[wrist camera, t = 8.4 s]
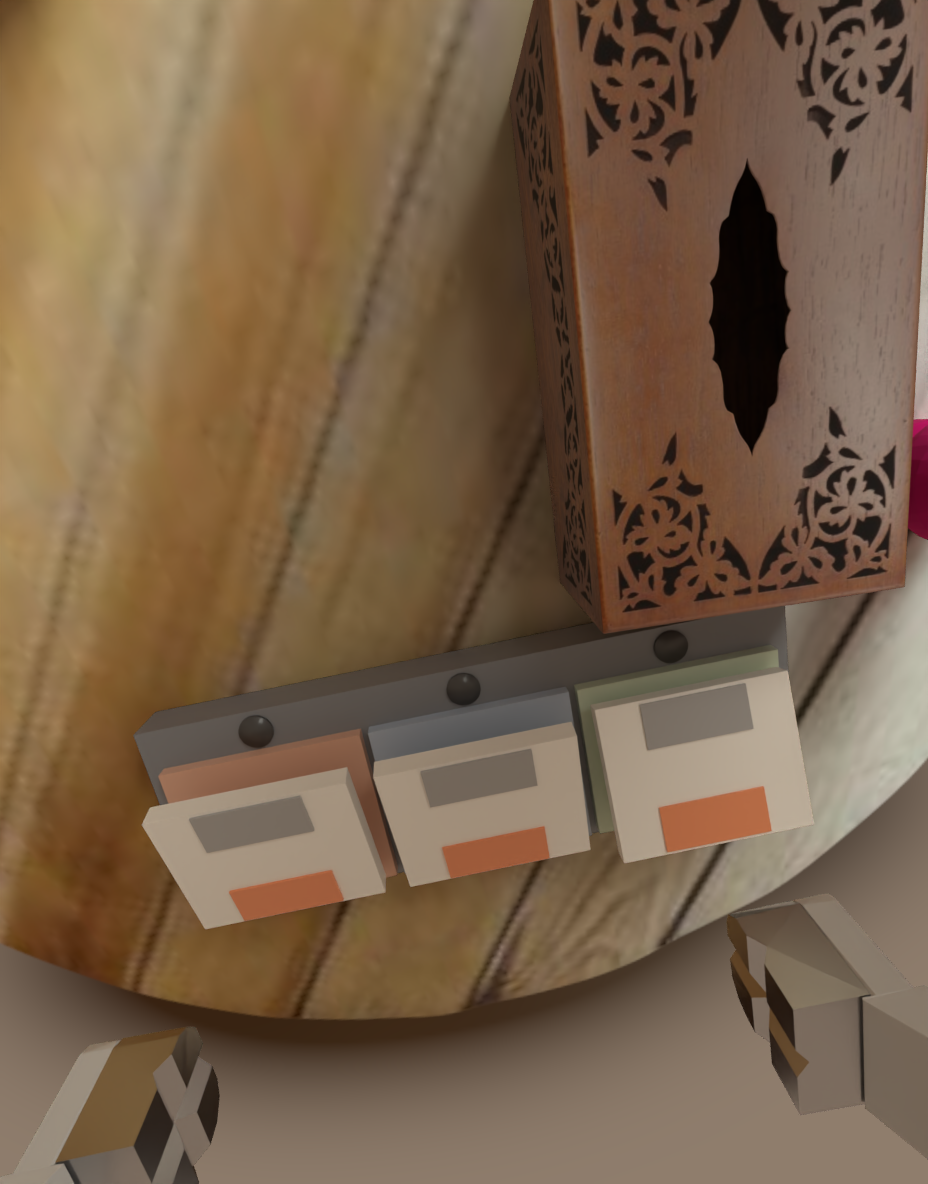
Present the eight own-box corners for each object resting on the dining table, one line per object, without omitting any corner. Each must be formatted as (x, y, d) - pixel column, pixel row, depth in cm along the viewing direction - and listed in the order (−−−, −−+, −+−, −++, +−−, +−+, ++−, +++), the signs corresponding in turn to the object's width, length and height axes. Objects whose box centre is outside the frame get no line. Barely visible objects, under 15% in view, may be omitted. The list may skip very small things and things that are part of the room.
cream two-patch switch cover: (776, 666, 35) (789, 671, 34) (802, 815, 36) (815, 825, 34) (590, 704, 35) (595, 710, 34) (618, 853, 36) (624, 864, 34)
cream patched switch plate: (347, 767, 33) (345, 785, 32) (386, 875, 38) (385, 894, 36) (150, 807, 33) (140, 826, 32) (210, 911, 38) (204, 931, 36)
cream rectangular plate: (571, 721, 33) (577, 737, 32) (585, 833, 38) (591, 852, 36) (374, 761, 33) (373, 779, 32) (409, 869, 38) (410, 889, 36)
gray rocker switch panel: (758, 588, 39) (792, 605, 35) (770, 766, 42) (802, 799, 39) (155, 712, 39) (126, 742, 35) (217, 880, 42) (196, 923, 38)
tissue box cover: (785, 546, 38) (904, 587, 29) (559, 581, 38) (603, 633, 29) (784, 62, 32) (940, -98, 22) (508, 100, 31) (544, -44, 22)
